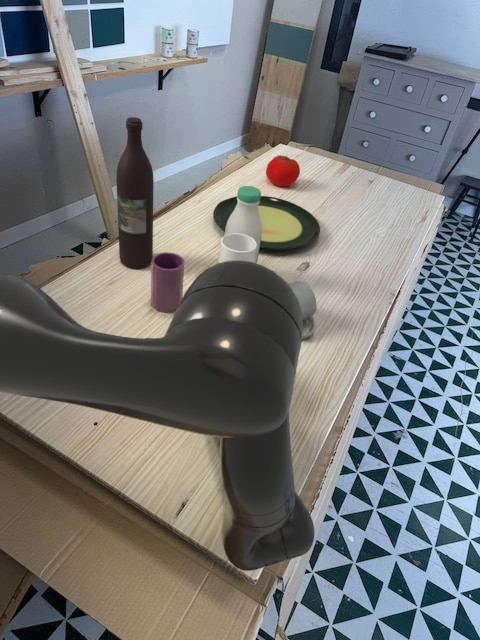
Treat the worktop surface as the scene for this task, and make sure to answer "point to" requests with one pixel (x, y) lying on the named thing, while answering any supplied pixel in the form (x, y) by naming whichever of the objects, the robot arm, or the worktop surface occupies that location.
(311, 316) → the ceramic mug
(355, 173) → the worktop surface
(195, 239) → the worktop surface
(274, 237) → the plate
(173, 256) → the far cup
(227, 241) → the drinking glass
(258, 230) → the milk bottle
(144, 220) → the wine bottle
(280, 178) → the tomato
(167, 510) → the worktop surface
